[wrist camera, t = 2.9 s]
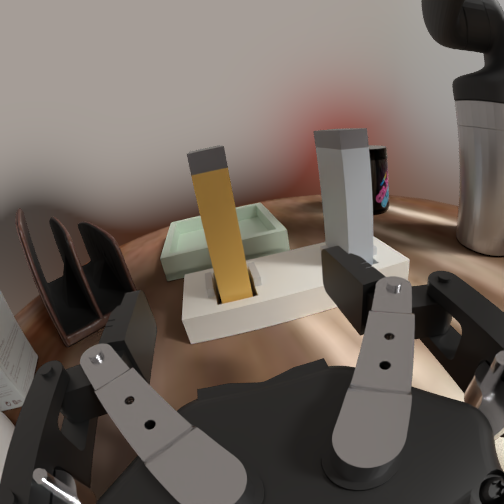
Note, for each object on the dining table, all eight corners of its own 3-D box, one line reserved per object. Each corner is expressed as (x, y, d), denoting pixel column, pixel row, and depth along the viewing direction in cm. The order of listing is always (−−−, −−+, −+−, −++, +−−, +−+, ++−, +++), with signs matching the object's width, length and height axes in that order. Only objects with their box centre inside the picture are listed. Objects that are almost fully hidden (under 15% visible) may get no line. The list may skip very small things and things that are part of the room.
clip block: (366, 252, 31) (366, 225, 30) (407, 283, 24) (410, 251, 22) (191, 295, 29) (182, 267, 28) (191, 344, 22) (178, 311, 20)
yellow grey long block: (247, 290, 28) (218, 145, 23) (257, 318, 24) (223, 146, 18) (222, 295, 28) (189, 151, 22) (228, 325, 23) (186, 154, 18)
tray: (175, 239, 46) (171, 222, 45) (263, 219, 48) (260, 202, 47) (167, 281, 33) (160, 258, 32) (290, 253, 34) (287, 229, 33)
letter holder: (68, 350, 23) (7, 216, 17) (47, 292, 36) (15, 208, 30) (144, 306, 29) (102, 176, 23) (96, 266, 42) (70, 185, 37)
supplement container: (373, 218, 40) (369, 150, 36) (342, 210, 46) (336, 148, 42) (397, 208, 43) (394, 146, 39) (367, 201, 48) (363, 145, 44)
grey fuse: (348, 264, 29) (337, 128, 24) (372, 286, 25) (366, 128, 19) (327, 269, 29) (313, 131, 23) (349, 293, 24) (338, 130, 19)
